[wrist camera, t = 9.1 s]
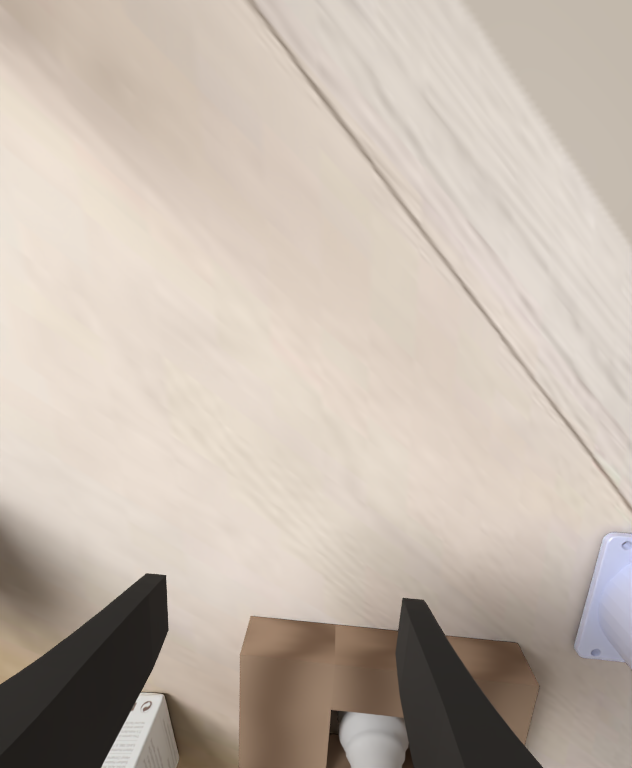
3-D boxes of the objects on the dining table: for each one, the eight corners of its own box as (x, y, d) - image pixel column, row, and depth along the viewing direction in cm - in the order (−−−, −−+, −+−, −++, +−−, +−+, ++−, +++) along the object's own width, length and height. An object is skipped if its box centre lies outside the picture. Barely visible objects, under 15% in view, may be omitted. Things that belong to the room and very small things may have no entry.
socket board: (517, 643, 22) (539, 686, 20) (484, 788, 25) (500, 841, 22) (250, 616, 23) (240, 654, 20) (248, 759, 26) (238, 808, 23)
